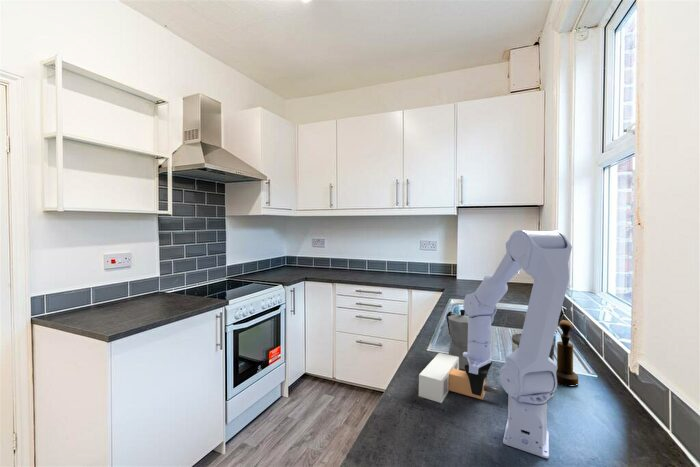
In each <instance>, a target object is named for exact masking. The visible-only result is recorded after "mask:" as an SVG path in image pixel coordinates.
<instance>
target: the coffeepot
mask: <svg viewBox="0 0 700 467" xmlns="http://www.w3.org/2000/svg"><path fill="white" fill-rule="evenodd" d="M459 312H460V314H457V313H456V312H453V311H447V314H446V315H445V316H446V323H447V329H448V334H449V337H450V338H451V342H450V344H449V348H448V353H447V354H448V355H452V356H457V357H459V370H461V371H465V365H466V364H467V365H469V362H468V360H467V358H466V357H463V353H464V352H467V351H468V315H467V314H466V312H465V310H464V309H459ZM465 314H466V315H465Z"/></svg>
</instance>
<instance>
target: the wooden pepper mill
mask: <svg viewBox="0 0 700 467" xmlns="http://www.w3.org/2000/svg"><path fill="white" fill-rule="evenodd" d="M559 327H560V329H561V331H562V334H560V338H561V341H557V342H556V365H557V367H558V368H557V372H556V377H557V384H558V383H559V385H561V384H563V385H562V386H564V385H576V384H578V385H579V375H578V374H577V373H576V372H575V371H574V344H573V343H570V339H571V336H570V334H569V332H570V331H571V330H572V328H573V324H572V322H571V321H570V320H566V319H562V320H561V321H560V322H559Z"/></svg>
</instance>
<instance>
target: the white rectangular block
mask: <svg viewBox="0 0 700 467" xmlns="http://www.w3.org/2000/svg"><path fill="white" fill-rule="evenodd" d="M448 354H449V353H447V354H446V353H444V352H443V353H442V352H438V353H437V354H436V355H435V357H434V358H433V359H432V360H431V361H430V362H429V363H428V364H427V365H426V366H425V368H423V370H421V372H420V373H419V375H418V397H419V398H424V399H427V400H431V401H433V402H437V403H440V404H443V401H444V400H445V398H446V397H447V395H448V393H449V391H450V390H449V372H450V371H451V369H452V368H453V369H457V370H460V369H459V357H457V356H452V355H448Z"/></svg>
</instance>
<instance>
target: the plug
mask: <svg viewBox="0 0 700 467" xmlns="http://www.w3.org/2000/svg"><path fill="white" fill-rule="evenodd" d="M486 381H487V378H486V377H485V380H484V384H483V389H482V393H481V396H478V395H475V394H472V391H471V386H470V381H469V378H468V375H467V373H466V372H465V370H462V369H459V370H457V369H453V368H452V369H451V371H450V372H449V391H450V392H454V393H457V394H461V395H463V396H464V395H465V396H468V397H471V398H475V399H479V400H484V397H485V395H486V392H487V393H491V394H495V395H499V396H502V389H501V388H498V387H494V386H489V385H486Z"/></svg>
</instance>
